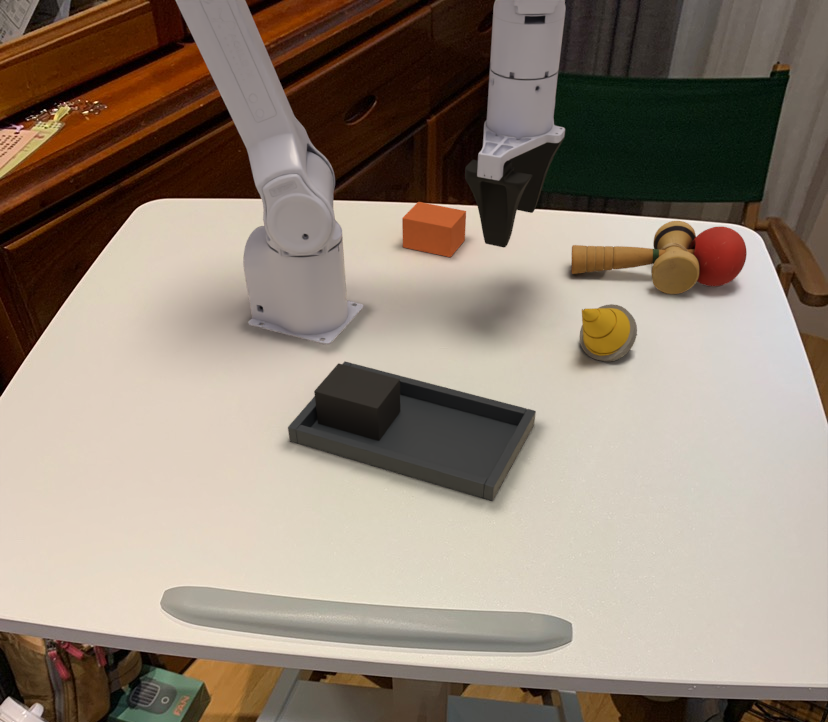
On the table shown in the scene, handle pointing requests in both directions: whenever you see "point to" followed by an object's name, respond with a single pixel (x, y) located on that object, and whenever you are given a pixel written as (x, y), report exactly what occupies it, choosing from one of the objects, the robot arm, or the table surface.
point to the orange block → (434, 229)
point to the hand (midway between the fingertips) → (510, 226)
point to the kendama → (673, 257)
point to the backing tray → (432, 437)
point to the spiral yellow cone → (607, 332)
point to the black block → (358, 401)
